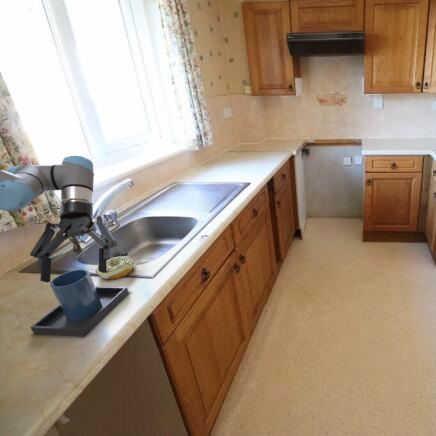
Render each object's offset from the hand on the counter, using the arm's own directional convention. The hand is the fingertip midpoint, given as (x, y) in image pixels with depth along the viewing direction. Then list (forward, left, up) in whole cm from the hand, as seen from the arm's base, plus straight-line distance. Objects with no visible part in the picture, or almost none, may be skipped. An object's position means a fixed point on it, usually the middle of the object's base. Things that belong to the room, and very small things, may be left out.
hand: (74, 276), depth 87 cm
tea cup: (+2, -1, -10) cm, 10 cm away
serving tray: (+2, -1, -10) cm, 11 cm away
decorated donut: (-15, +9, -10) cm, 20 cm away
